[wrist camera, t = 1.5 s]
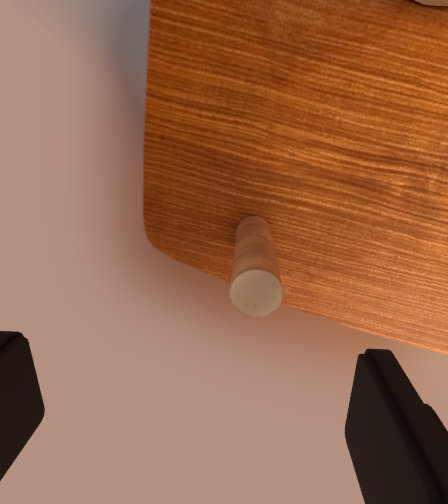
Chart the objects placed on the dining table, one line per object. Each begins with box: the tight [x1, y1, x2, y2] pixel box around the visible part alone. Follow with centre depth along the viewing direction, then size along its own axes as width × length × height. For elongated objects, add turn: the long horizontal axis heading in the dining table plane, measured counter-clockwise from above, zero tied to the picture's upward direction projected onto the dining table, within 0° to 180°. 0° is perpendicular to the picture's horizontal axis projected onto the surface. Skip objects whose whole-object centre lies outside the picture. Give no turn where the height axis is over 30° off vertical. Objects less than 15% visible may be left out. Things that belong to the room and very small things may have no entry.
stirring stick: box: [229, 216, 283, 317], centre depth 26 cm, size 3×3×12 cm
